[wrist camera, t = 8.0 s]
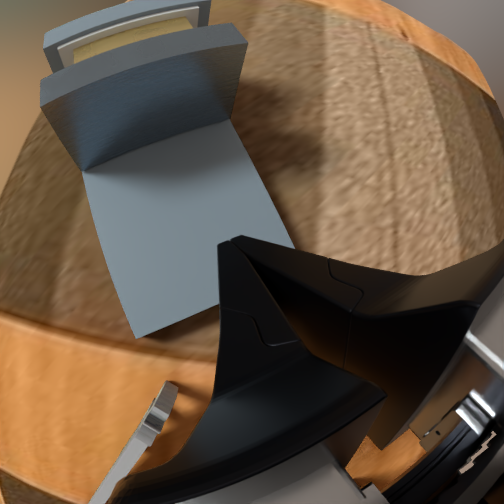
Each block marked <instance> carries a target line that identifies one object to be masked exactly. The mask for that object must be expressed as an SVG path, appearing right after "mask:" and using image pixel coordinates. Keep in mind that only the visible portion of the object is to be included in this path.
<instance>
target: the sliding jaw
mask: <svg viewBox="0 0 504 504" xmlns="http://www.w3.org/2000/svg"><path fill="white" fill-rule="evenodd" d="M247 46H248V42H247V41H246V39H245V38H244V37H243V36H242V35H241V33H240V32H239V31H238V30H237V28H236V27H235V26H234V25H233V24H232V23H226V24H218V25H211V26H204V27H198V28H192V29H187V30H182V31H177V32H172V33H168V34H163V35H159V36H155V37H151V38H148V39H144V40H140V41H137V42H133V43H130V44H127V45H124V46H121V47H118V48H115V49H112V50H109V51H106V52H103V53H100V54H98V55H95V56H92V57H90V58H87V59H85V60H82V61H80V62H78V63H75V64H73V65H71V66H68V67H66V68H64V69H62V70H60V71H58V72H56V73H53V74H51V75H50V76H48V77H45V78H43V79H42V80H41V83H40V108H41V109H42V111H43V113H44V114H45V116H46V118H47V119H48V121H49V123H50V124H51V126H52V128H53V129H54V131H55V132H56V134H57V136H58V137H59V139H60V140H61V142H62V143H63V145H64V147H65V148H66V150H67V151H68V153H69V154H70V156H71V157H72V159H73V160H74V162H75V163H76V165H77V166H78V168H79V169H80V170H81V172H82V171H84V170H87V169H89V168H91V167H93V166H96V165H98V164H100V163H102V162H105V161H107V160H109V159H112V158H114V157H117V156H119V155H121V154H124V153H126V152H129V151H132V150H134V149H137V148H139V147H142V146H145V145H147V144H150V143H153V142H156V141H159V140H161V139H164V138H167V137H170V136H173V135H176V134H179V133H182V132H186V131H189V130H192V129H195V128H199V127H202V126H206V125H209V124H213V123H216V122H220V121H224V120H227V119H230V118H231V113H232V109H233V104H234V100H235V95H236V91H237V87H238V82H239V78H240V74H241V70H242V66H243V62H244V58H245V54H246V50H247Z"/></svg>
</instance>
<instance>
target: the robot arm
mask: <svg viewBox="0 0 504 504" xmlns="http://www.w3.org/2000/svg"><path fill="white" fill-rule="evenodd" d="M217 265H218V289H219V309H220V310H219V313H220V337H219V349H218V357H217V365H216V373H215V381H214V388H213V393H212V398H211V401H210V404H209V406H208V408H207V409H206V411H205V413H204V414H203V416H202V417H201V419H200V421H199V422H198V424H197V425H196V427H195V429H194V430H193V432H192V433H191V435H190V436H189V438H188V439H187V441H186V443H185V444H184V446H183V447H182V448H181V450H180V451H179V452H178V453H177V454H176V455H175V456H174V457H173V458H171V459H170V460H168V461H167V462H165V463H163V464H162V465H159V466H157V467H154V468H151V469H147V470H144V471H140V472H136V473H133V474H130V475H128V476H125V477H123V478H122V479H120V480H119V481H118V482H117V483H116V485H115V487H114V489H113V491H112V493H111V495H110V498H109V501H108V504H504V239H503V240H502V242H501V243H500V244H498V245H497V246H495V247H494V248H492V249H490V250H488V251H486V252H484V253H482V254H480V255H477V256H475V257H472V258H470V259H468V260H465V261H463V262H460V263H458V264H455V265H453V266H450V267H448V268H445V269H443V270H440V271H437V272H435V273H432V274H428V275H421V276H414V275H407V274H401V273H396V272H390V271H385V270H380V269H374V268H369V267H364V266H359V265H355V264H351V263H347V262H342V261H339V260H335V259H331V258H327V257H324V256H320V255H316V254H312V253H309V252H305V251H301V250H298V249H294V248H290V247H286V246H283V245H279V244H275V243H271V242H267V241H264V240H260V239H256V238H252V237H248V236H245V235H239V236H236V237H234V238H231V239H230V241H229V240H226V241H224V242H221V243H219V244H217ZM409 428H410V429H411V430H412V431H413V432H414V434H415V435H416V436H417V437H418V438H419V439H420V440H421V441H420V442H419V443H420V445H421V446H422V447H423V448H424V449H425V451H426V452H427V453H426V454H425V455H424V456H422V457H421V458H420V459H419V460H418V461H417V462H416V463H414V464H413V465H412V466H411V467H410V468H409V469H407V470H406V471H405V472H404V473H402V474H401V475H400V476H399V477H397V478H396V479H395V480H394V481H392V482H391V483H390V484H388V485H387V486H386V487H384V488H383V489H382V490H380V491H379V490H378V489H377V488H376V486H375V485H374V484H373V483H372V482H369V483H368V484H366V485H365V486H363V487H361V486H359V485H357V484H356V482H355V481H354V480H353V479H352V477H351V476H350V475H349V473H348V472H347V471H346V469H345V467H346V466H347V464H348V463H349V461H350V460H351V458H352V457H353V455H354V454H355V452H356V451H357V449H358V447H359V446H360V444H361V443H362V441H363V440H364V438H365V436H366V435H367V436H368V437H369V438H370V439H371V440H372V441H373V443H374V444H375V445H376V446H377V447H378V448H379V449H380V450H383V449H384V448H385V447H387V446H388V445H389V444H391V443H392V442H393V441H394V440H396V439H397V438H398V437H399V436H401V435H402V434H403V433H404V432H405V431H407V430H408V429H409ZM492 431H494V432H495V433H496V434H497V435H496V436H494V437H493V438H492V439H491V440H490V441H489V442H488V444H487V446H488V448H487V449H486V450H485V451H484V452H482V453H481V454H480V455H479V456H477V457H476V458H475V459H474V460H473V463H474V466H472V467H471V468H470V469H468V470H467V471H465V472H464V473H462V474H461V473H460V471H459V470H460V469H461V468H462V467H464V466H465V465H467V464H468V463H469V462H470V461H471V456H473V455H474V454H475V453H477V452H478V451H479V450H480V449H481V448H482V446H481V445H482V444H483V443H484V442H485V441H486V440H488V439H489V438H490V437H491V435H492V434H491V432H492Z"/></svg>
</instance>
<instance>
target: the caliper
mask: <svg viewBox="0 0 504 504" xmlns="http://www.w3.org/2000/svg"><path fill="white" fill-rule="evenodd" d="M177 392H178V387H177V386H175V385H173V384H172V383H170V382H168V381H167V380H166V381H165V383H164V384H163V386H162V388H161V390H160V392H159V394H158V395H157V397H156V398H154V400H153V401H152V403H151V405H150V406H149V408H148V410H147V412H146V413H145V415H144V417H143V419H142V420H141V422H140V424H139V426H138V427H137V429H136V430H135V432H134V433H133V435H132V436H131V438H130V439H129V441H128V442H127V444H126V445H125V447H124V448H123V450H122V451H121V453H120V455H119V457H118V458H117V460H116V461H115V463H114V465H113V466H112V468H111V469H110V471H109V472H108V474H107V475H106V477H105V478H104V480H103V481H102V483H101V484H100V486H99V487H98V489H97V490H96V492H95V494H94V495H93V497H92V498H91V500H90V501H89V503H88V504H105V503H106V501H107V500H108V499H109V497H110V495H111V493H112V491H113V489H114V487H115V485H116V483H117V482H118V481H119V480H120V479H122V478H123V477H125V476H127V474H128V473H129V471H130V470H131V469H132V467H133V466H134V465H135V463H136V462H137V460H138V459H139V458H140V456H141V455H142V454H143V452H144V451H145V449H146V448H147V447H148V446H150V447H151V445H152V443H153V441H154V439H155V437H156V435H157V433H158V434H160V432H161V430H162V427H163V425H164V422H165V421H166V419H167V418H168V416H169V415H170V412H171V410H172V407H173V405H174V402H175V400H176V397H177Z"/></svg>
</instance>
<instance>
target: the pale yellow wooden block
mask: <svg viewBox="0 0 504 504" xmlns="http://www.w3.org/2000/svg"><path fill="white" fill-rule="evenodd" d="M192 28H193V27H192V26H191V24H190V23H189V21H188V20H187V18H186V17H185V16H184V17H178V18H173V19H168V20H164V21H159V22H155V23H151V24H147V25H143V26H139V27H136V28H132V29H129V30H125V31H122V32H119V33H116V34H113V35H110V36H107V37H104V38H101V39H98V40H95V41H93V42H90V43H88V44H85V45H83V46H80V47H78V48H75V49H73V55H74V64H75V63H78V62H80V61H82V60H85V59H87V58H90V57H92V56H95V55H98V54H100V53H103V52H106V51H109V50H112V49H115V48H118V47H121V46H124V45H127V44H130V43H133V42H137V41H140V40H144V39H148V38H151V37H155V36H159V35H163V34H168V33H172V32H177V31H182V30H187V29H192Z"/></svg>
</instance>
